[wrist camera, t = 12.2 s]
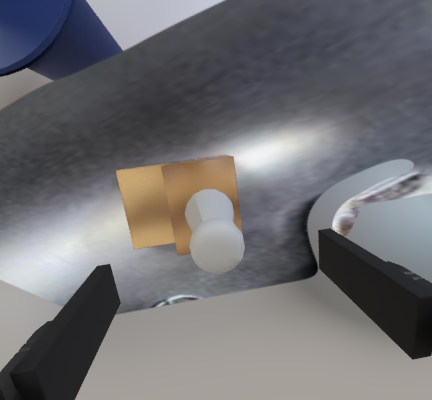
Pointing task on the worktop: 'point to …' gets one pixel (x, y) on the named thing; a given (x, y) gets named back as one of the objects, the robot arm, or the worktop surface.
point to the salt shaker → (213, 232)
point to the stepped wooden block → (172, 198)
